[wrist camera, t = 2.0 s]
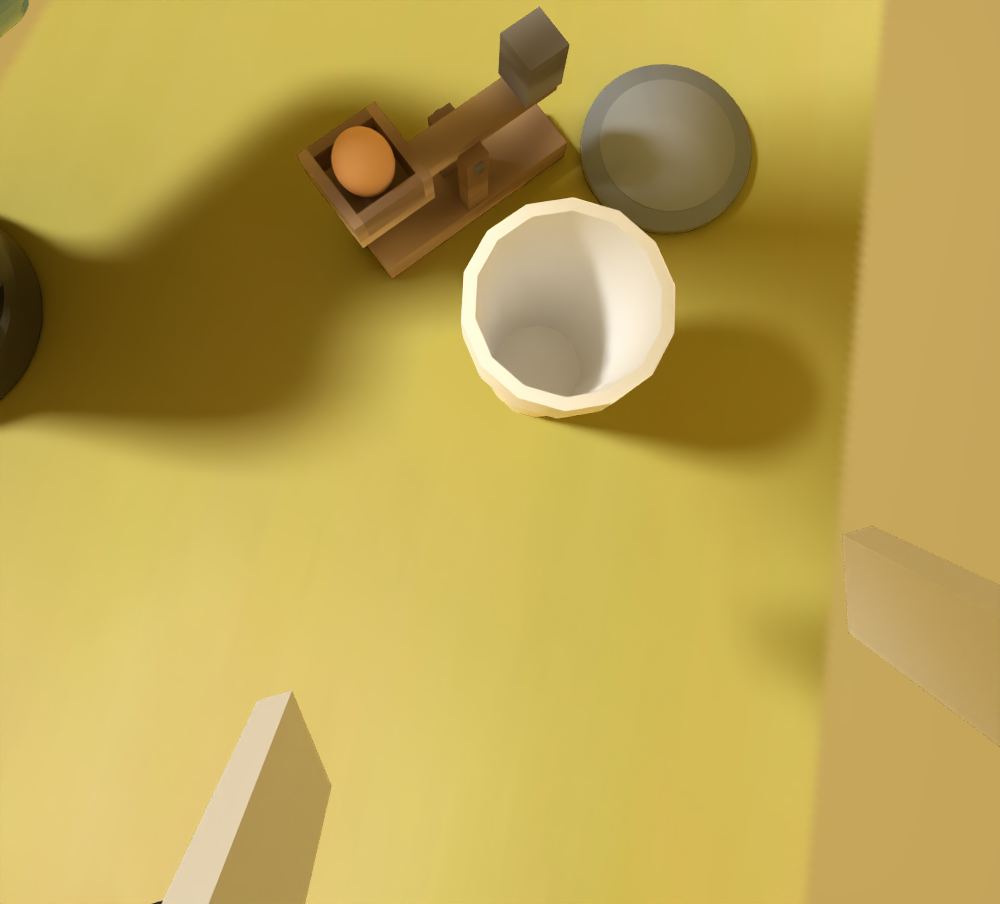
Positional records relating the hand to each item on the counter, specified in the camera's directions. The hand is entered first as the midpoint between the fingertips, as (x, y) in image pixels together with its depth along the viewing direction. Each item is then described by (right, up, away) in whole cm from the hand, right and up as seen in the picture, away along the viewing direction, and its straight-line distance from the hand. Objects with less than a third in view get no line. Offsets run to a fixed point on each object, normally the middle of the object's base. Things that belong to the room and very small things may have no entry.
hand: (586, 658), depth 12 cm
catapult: (-5, +23, +24) cm, 33 cm away
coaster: (+10, +26, +25) cm, 37 cm away
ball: (-9, +20, +15) cm, 26 cm away
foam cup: (0, +10, +23) cm, 26 cm away
